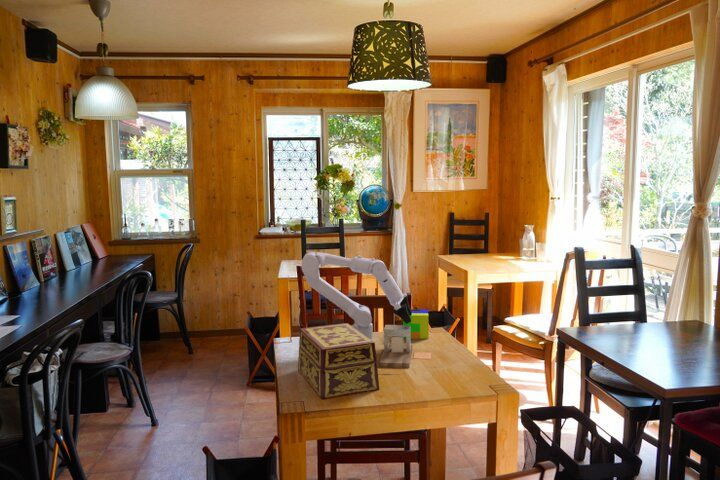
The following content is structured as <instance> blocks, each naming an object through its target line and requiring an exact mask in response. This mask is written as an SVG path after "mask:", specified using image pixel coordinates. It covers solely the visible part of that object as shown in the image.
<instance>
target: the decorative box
mask: <svg viewBox="0 0 720 480" xmlns="http://www.w3.org/2000/svg"><path fill="white" fill-rule="evenodd" d="M351 325H352V324H351ZM351 325H350V324H349V323H348V322H346V323H345V322H343V323H337V324H326V325H319V326H318V325H317V326H310V327H309V326H308V327H303V328H300V329H299V341H298V360H297V361H298V363H297V370H298V372H299V374H301V376H302V377H303V378H304V380H305V381H306V382H307V383H308V384H309V386H310V387H311V388H312V389H313V391H314V392H315V393H316V394H317V396H318V397H320V399H321V400H327V399H329V400H330V399H333V398H340V397H345V396H351V395H358V394H363V393H369V392H375V391H376V392H377V391H380V382H379V373H378V362H377V361H378V360H377V352H376V343H375V342H374V340H373V341H372V340H370V339H369V338H368V337H366V336H365V335H363V334H362V333H361V332H359V331H358V330H356V329H355V328H353V327H352V326H351Z"/></svg>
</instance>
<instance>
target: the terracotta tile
mask: <svg viewBox="0 0 720 480" xmlns="http://www.w3.org/2000/svg"><path fill="white" fill-rule="evenodd" d="M413 359H414V360H432V353H431V352H426V351H425V352H424V351H423V352H421V351H419V352H418V351H417V352H416V351H415V352H414V354H413Z"/></svg>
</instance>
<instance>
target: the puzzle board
mask: <svg viewBox="0 0 720 480" xmlns="http://www.w3.org/2000/svg"><path fill="white" fill-rule="evenodd" d="M403 349H404V352H392V344H389V349H388V352H384V350H383V352H382V355H381V357H380V360H379V368H395V369H396V368H400V369H401V368H402V369H403V368H405V369H407V368H408V369H410V365H411V362H412V361H411V360H412V353H413V345H411V349H410V353H407V352H406V344H405V345H404V344H403Z"/></svg>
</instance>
